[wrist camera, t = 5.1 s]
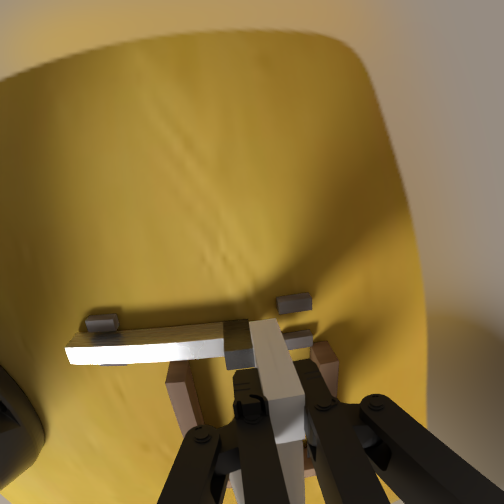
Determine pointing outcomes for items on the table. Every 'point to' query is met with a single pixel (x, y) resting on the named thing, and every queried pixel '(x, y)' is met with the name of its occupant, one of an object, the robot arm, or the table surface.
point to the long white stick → (166, 345)
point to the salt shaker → (291, 471)
